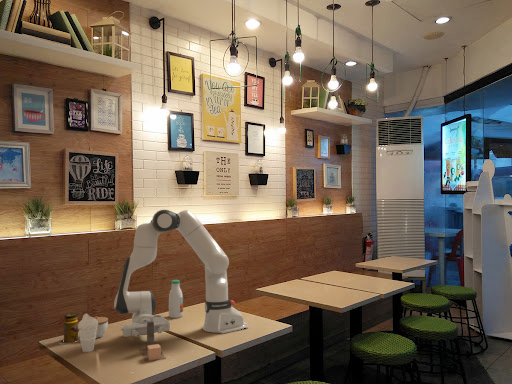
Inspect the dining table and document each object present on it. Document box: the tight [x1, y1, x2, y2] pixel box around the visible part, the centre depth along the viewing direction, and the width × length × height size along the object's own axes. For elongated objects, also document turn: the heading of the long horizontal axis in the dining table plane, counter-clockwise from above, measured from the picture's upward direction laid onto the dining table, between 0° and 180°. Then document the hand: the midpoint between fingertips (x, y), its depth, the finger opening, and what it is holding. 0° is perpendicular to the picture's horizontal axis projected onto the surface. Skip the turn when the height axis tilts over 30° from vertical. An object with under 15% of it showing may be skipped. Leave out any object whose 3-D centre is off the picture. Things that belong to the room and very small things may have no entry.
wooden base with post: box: [139, 321, 167, 363], centre depth 172 cm, size 17×8×13 cm, turn 23°
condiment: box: [57, 313, 81, 346], centre depth 195 cm, size 7×8×12 cm
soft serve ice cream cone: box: [78, 313, 98, 353], centre depth 181 cm, size 8×8×16 cm
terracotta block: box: [148, 343, 162, 362], centre depth 167 cm, size 4×4×4 cm
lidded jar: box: [94, 315, 109, 339], centre depth 201 cm, size 11×11×9 cm
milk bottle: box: [168, 279, 184, 319], centre depth 234 cm, size 8×8×20 cm
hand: (148, 332), depth 180 cm, fingers open, 8 cm apart
